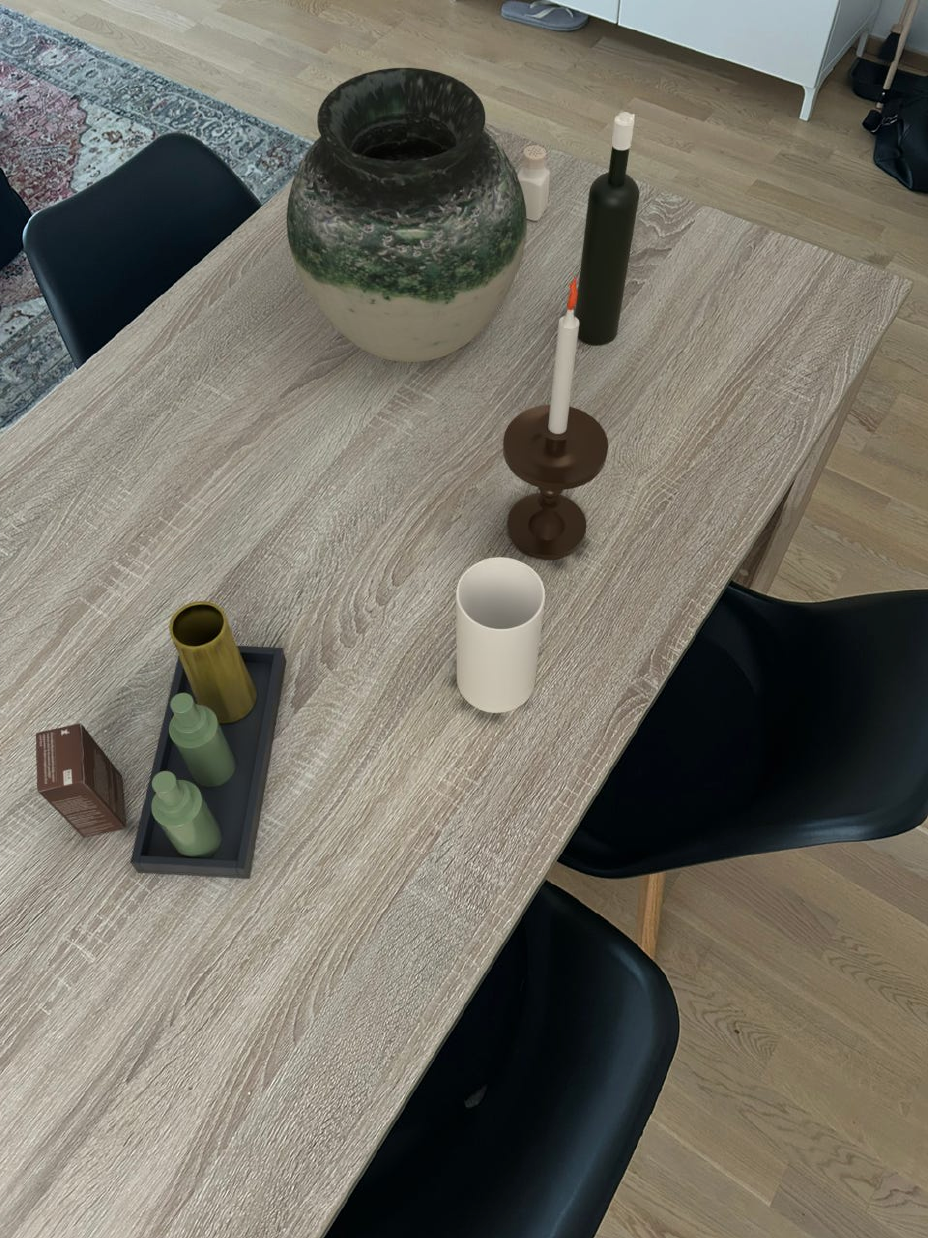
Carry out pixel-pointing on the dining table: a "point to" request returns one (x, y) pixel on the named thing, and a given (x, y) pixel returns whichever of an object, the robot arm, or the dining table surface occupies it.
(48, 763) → the box
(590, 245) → the wine bottle
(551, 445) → the candlestick
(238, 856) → the tray
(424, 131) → the vase
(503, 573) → the cup
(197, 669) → the vase
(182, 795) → the bottles
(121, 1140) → the dining table surface
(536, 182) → the pepper shaker
